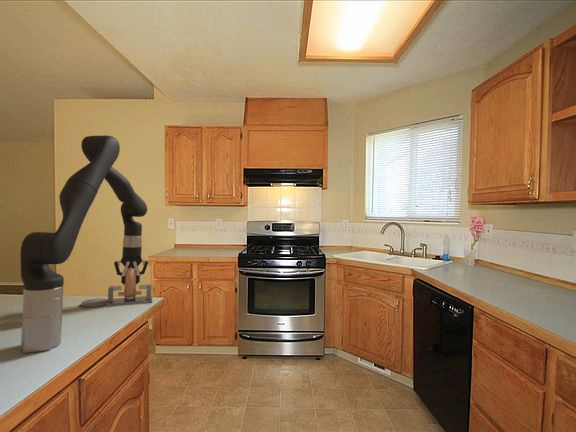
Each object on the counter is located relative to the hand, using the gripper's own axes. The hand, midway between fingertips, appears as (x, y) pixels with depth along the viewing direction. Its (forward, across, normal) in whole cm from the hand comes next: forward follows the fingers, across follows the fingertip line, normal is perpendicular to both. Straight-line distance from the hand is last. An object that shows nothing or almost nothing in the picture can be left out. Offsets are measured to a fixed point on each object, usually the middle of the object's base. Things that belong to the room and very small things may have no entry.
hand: (130, 283), depth 137 cm
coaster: (+8, -13, 0) cm, 15 cm away
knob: (+5, 0, 0) cm, 5 cm away
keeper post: (+8, 0, 0) cm, 8 cm away
